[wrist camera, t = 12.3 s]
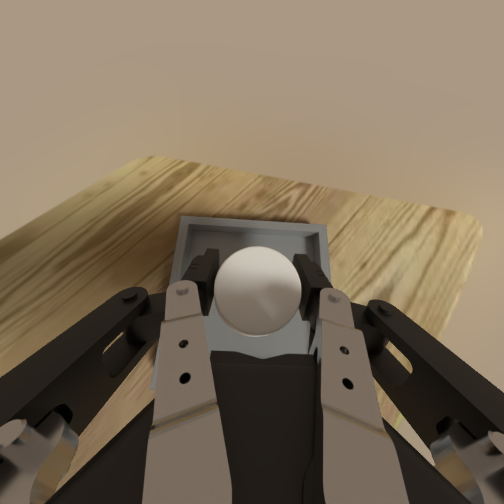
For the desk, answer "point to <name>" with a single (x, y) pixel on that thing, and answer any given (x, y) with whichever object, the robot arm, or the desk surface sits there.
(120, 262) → the desk surface
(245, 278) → the supplement bottle
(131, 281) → the desk surface
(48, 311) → the desk surface
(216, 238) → the tray
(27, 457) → the robot arm
